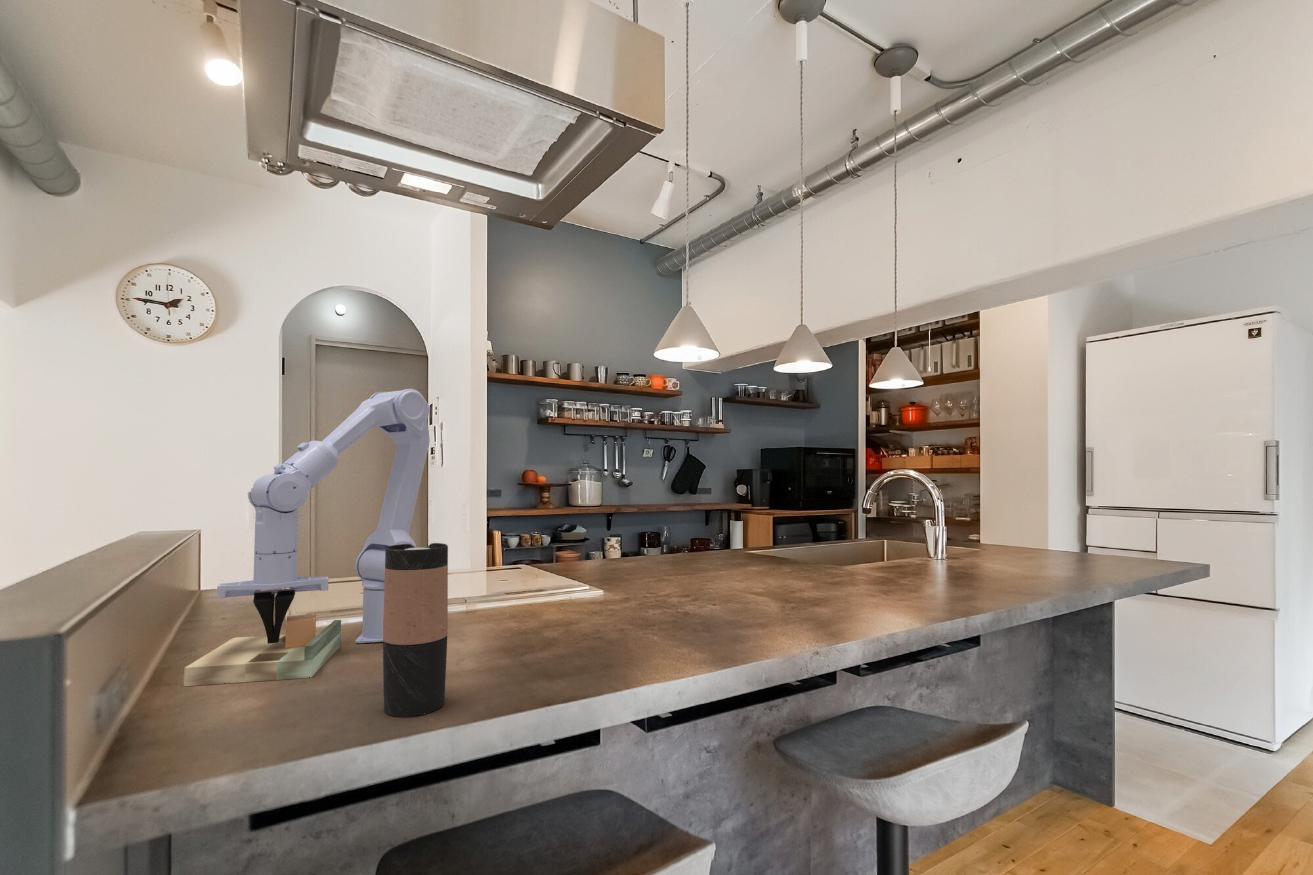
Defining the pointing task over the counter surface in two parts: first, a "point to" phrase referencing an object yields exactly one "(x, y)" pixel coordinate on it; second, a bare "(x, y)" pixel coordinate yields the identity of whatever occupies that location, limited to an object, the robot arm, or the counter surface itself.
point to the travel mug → (415, 628)
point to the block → (300, 630)
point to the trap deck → (263, 659)
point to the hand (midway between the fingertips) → (273, 641)
